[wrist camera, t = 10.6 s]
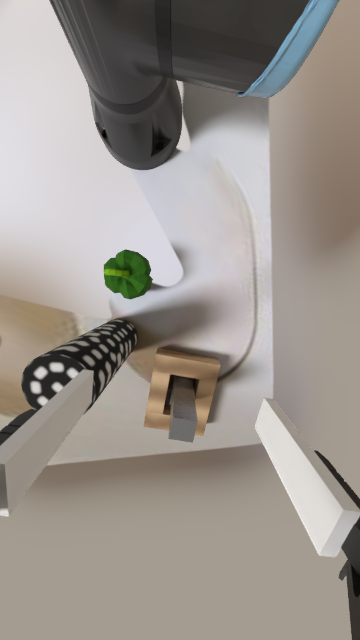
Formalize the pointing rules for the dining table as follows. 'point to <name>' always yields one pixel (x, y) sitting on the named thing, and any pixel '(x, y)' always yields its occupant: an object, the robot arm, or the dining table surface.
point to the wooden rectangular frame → (187, 367)
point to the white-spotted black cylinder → (80, 362)
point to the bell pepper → (128, 274)
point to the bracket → (182, 410)
